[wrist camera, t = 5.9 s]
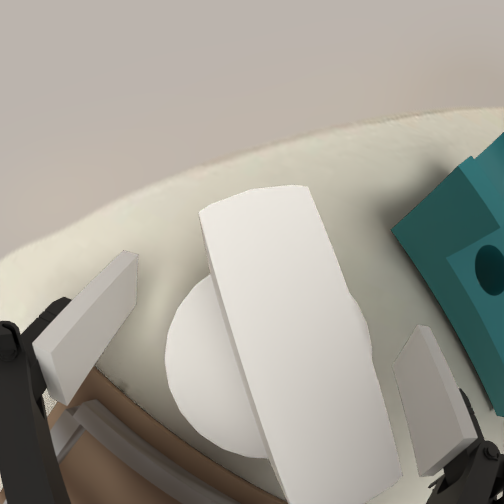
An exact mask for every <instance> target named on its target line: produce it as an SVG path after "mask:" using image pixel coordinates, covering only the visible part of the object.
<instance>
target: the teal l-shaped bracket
mask: <svg viewBox="0 0 504 504" xmlns="http://www.w3.org/2000/svg"><path fill="white" fill-rule="evenodd" d="M391 231H392V232H393V234H394V235H395V236H396V238H397V239H398V241H399V242H400V243H401V245H402V246H403V248H404V249H405V251H406V252H407V254H408V255H409V257H410V258H411V260H412V261H413V263H414V264H415V266H416V267H417V269H418V270H419V272H420V273H421V275H422V276H423V278H424V279H425V281H426V282H427V284H428V286H429V287H430V289H431V290H432V292H433V294H434V295H435V297H436V299H437V300H438V302H439V304H440V305H441V307H442V309H443V310H444V312H445V314H446V315H447V317H448V319H449V321H450V322H451V324H452V326H453V328H454V329H455V331H456V333H457V335H458V337H459V338H460V340H461V342H462V344H463V346H464V348H465V350H466V351H467V353H468V355H469V357H470V359H471V361H472V363H473V365H474V367H475V369H476V371H477V373H478V375H479V377H480V379H481V381H482V383H483V386H484V388H485V390H486V392H487V394H488V396H489V399H490V401H491V403H492V405H493V408H494V410H495V412H496V415H497V416H501V417H504V132H503V133H502V134H501V135H500V136H499V137H498V138H497V139H496V140H495V141H494V142H493V143H492V144H491V145H490V146H489V147H488V148H486V149H485V150H484V151H483V152H482V153H481V154H480V155H479V156H478V157H476V158H475V159H473V157H472V156H470V157H469V158H467V159H466V160H465V161H464V162H462V163H461V164H460V165H459V166H457V167H456V168H455V169H454V170H453V171H452V172H451V173H450V174H449V175H448V176H447V177H446V178H445V179H444V180H443V181H442V182H441V183H440V184H439V185H438V186H437V187H436V188H435V189H434V190H433V191H432V192H431V193H430V194H429V195H428V196H427V197H426V198H425V199H424V200H423V201H421V202H420V203H419V204H418V205H417V206H416V207H415V208H414V209H413V210H412V211H411V212H410V213H409V214H408V215H406V216H405V217H404V218H403V219H402V220H401V221H400V222H399V223H398V224H397V225H395V226H394V227H393V228H392V229H391ZM477 279H478V280H477ZM478 281H479V282H478Z"/></svg>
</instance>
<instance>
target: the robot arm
mask: <svg viewBox="0 0 504 504" xmlns="http://www.w3.org/2000/svg"><path fill="white" fill-rule="evenodd" d="M137 272H138V254H135V253H131V252H128V251H124V250H123V251H122V252H121V253H120V254H119V255H118V256H117V257H116V258H115V259H113V260H112V261H111V262H110V263H109V264H108V265H107V266H106V267H105V268H104V269H103V270H102V271H101V272H100V273H99V274H98V275H97V276H96V277H95V278H94V279H93V280H92V281H91V282H90V283H89V284H88V285H87V286H86V287H85V288H84V289H83V290H82V291H81V292H80V293H79V294H78V295H77V296H76V297H75V298H74V299H73V300H71V299H68V298H66V297H62V298H60V299H58V300H56V301H54V302H52V303H51V304H50V305H49V306H48V307H47V308H46V309H45V312H44V311H43V312H42V313H41V314H40V315H39V318H36V319H35V321H34V322H33V323H32V324H31V325H30V326H29V327H28V328H27V329H26V330H25V331H24V332H23V333H22V334H21V335H20V331H19V328H18V327H17V326H16V324H15V323H12V322H10V321H0V474H1V479H2V483H3V488H4V492H5V497H6V501H7V504H71V501H70V498H69V495H68V493H67V490H66V487H65V484H64V481H63V478H62V474H61V471H60V468H59V464H58V461H57V457H56V454H55V450H54V446H53V442H52V438H51V434H50V430H49V425H48V420H47V416H46V411H45V405H44V400H43V397H42V394H43V392H44V391H45V390H46V388H47V390H48V393H49V395H50V397H51V398H53V399H54V400H56V401H58V402H60V403H62V404H64V405H66V406H68V404H69V403H70V401H71V400H72V398H73V397H74V395H75V393H76V392H77V390H78V389H79V387H80V386H81V384H82V383H83V381H84V380H85V378H86V377H87V375H88V374H89V372H90V371H91V369H92V368H93V366H94V365H95V363H96V362H97V360H98V359H99V357H100V356H101V354H102V353H103V351H104V350H105V348H106V347H107V345H108V344H109V342H110V341H111V340H112V338H113V337H114V335H115V334H116V332H117V331H118V329H119V328H120V327H121V325H122V324H123V322H124V321H125V320H126V318H127V317H128V315H129V314H130V313H131V311H132V310H133V308H134V307H135V306H136V300H137ZM392 368H393V371H394V375H395V378H396V381H397V385H398V389H399V392H400V396H401V400H402V403H403V407H404V411H405V415H406V419H407V423H408V427H409V431H410V435H411V440H412V444H413V449H414V453H415V458H416V463H417V468H418V473H419V477H422V476H433V475H435V474H436V473H437V472H439V471H440V470H441V469H442V468H443V469H444V473H445V474H443V475H442V476H441V477H440V478H438V479H437V480H436V481H434V482H433V483H431V484H430V485H429V487H428V488H431V487H433V486H434V485H436V486H435V488H434V489H433V492H432V494H431V495H430V497H429V499H428V501H427V503H426V504H504V454H500V451H499V449H498V448H497V446H496V445H495V444H494V443H493V442H490V441H485V440H484V437H483V435H482V432H481V429H480V427H479V424H478V422H477V419H476V416H475V415H474V411H473V409H472V408H471V404H470V402H469V399H468V397H467V396H466V395H465V393H464V392H463V391H462V389H460V388H458V386H457V384H456V381H455V379H454V377H453V375H452V372H451V370H450V368H449V366H448V364H447V361H446V359H445V357H444V355H443V353H442V351H441V349H440V347H439V345H438V343H437V341H436V339H435V337H434V335H433V333H432V331H431V329H430V327H428V326H423V325H419V324H417V326H416V327H415V329H414V331H413V332H412V334H411V336H410V337H409V339H408V341H407V342H406V344H405V346H404V347H403V349H402V350H401V352H400V354H399V355H398V357H397V358H396V360H395V361H394V363H393V364H392ZM502 491H503V497H501V498H500V499H498V500H497V495H498V494H499V493H500V492H502Z"/></svg>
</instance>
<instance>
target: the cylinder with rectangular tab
mask: <svg viewBox="0 0 504 504" xmlns="http://www.w3.org/2000/svg"><path fill="white" fill-rule="evenodd" d="M198 213H199V218H200V223H201V229H202V234H203V239H204V245H205V250H206V255H207V260H208V265H209V270H210V274H209V275H208V276H207V277H205V278H204V279H203V280H201V281H200V282H199V283H197V284H196V285H195V286H194V287H193V289H192V290H191V291H190V292H189V294H188V295H187V296H186V298H185V299H184V300H183V301H182V303H181V304H180V305H179V307H178V309H177V311H176V314H175V316H174V318H173V321H172V323H171V326H170V328H169V331H168V335H167V343H166V351H165V366H166V373H167V379H168V385H169V388H170V391H171V393H172V395H173V397H174V399H175V402H176V404H177V406H178V408H179V410H180V412H181V413H182V415H183V416H184V417H185V418H186V419H187V420H188V422H189V423H190V424H191V425H192V426H193V427H194V428H195V430H196V431H197V432H198V433H199V434H201V435H202V436H203V437H205V438H206V439H208V440H209V441H211V442H213V443H214V444H216V445H217V446H219V447H220V448H222V449H224V450H227V451H230V452H233V453H236V454H240V455H243V456H246V457H251V458H268V459H269V461H270V464H271V466H272V468H273V471H274V473H275V475H276V477H277V480H278V482H279V484H280V486H281V489H282V491H283V493H284V495H285V498H286V500H287V502H288V504H364V503H366V502H368V501H370V500H371V499H373V498H374V497H376V496H378V495H379V494H381V493H382V492H384V491H386V490H387V489H389V488H390V487H392V486H393V485H394V484H395V483H396V482H397V481H398V480H399V479H400V478H401V477H402V476H403V474H402V470H401V465H400V461H399V457H398V453H397V448H396V444H395V440H394V436H393V432H392V429H391V425H390V421H389V417H388V413H387V410H386V406H385V403H384V399H383V395H382V392H381V389H380V385H379V382H378V378H377V375H376V372H375V368H374V365H373V362H372V344H371V339H370V334H369V329H368V324H367V322H366V320H365V318H364V316H363V314H362V312H361V310H360V308H359V306H358V304H357V302H356V300H355V299H354V298H353V297H352V296H351V294H350V293H349V290H348V287H347V285H346V282H345V279H344V276H343V274H342V271H341V268H340V266H339V263H338V260H337V258H336V255H335V253H334V250H333V247H332V245H331V242H330V240H329V237H328V235H327V232H326V230H325V227H324V225H323V222H322V220H321V217H320V215H319V212H318V210H317V208H316V205H315V203H314V200H313V198H312V196H311V193H310V191H309V189H308V187H307V186H300V185H286V186H275V187H265V188H256V189H250V190H247V191H245V192H242V193H239V194H236V195H233V196H231V197H228V198H225V199H223V200H220V201H217V202H215V203H212V204H210V205H208V206H207V207H205V208H204V209H202V210H201V211H199V212H198Z"/></svg>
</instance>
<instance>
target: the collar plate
mask: <svg viewBox="0 0 504 504" xmlns="http://www.w3.org/2000/svg"><path fill="white" fill-rule="evenodd" d="M47 420H48V425H49V430H50V434H51V438H52V442H53V446H54V450H55V454H56V457H57V461H58V464H59V468H60V471H61V474H62V478H63V481H64V484H65V487H66V490H67V493H68V495H69V498H70V501H71V504H288V503H287V502H285V501H283V500H281V499H279V498H277V497H275V496H273V495H271V494H269V493H267V492H266V491H264V490H262V489H260V488H258V487H256V486H254V485H253V484H251V483H249V482H247V481H246V480H244V479H242V478H240V477H239V476H237V475H235V474H234V473H232V472H230V471H229V470H227V469H225V468H224V467H222V466H220V465H219V464H217V463H216V462H214V461H213V460H211V459H209V458H208V457H206V456H205V455H203V454H202V453H200V452H199V451H197V450H196V449H195V448H193V447H192V446H190V445H189V444H187V443H186V442H184V441H183V440H182V439H180V438H179V437H178V436H176V435H175V434H173V433H172V432H171V431H169V430H168V429H167V428H165V427H164V426H163V425H161V424H160V423H159V422H158V421H156V420H155V419H154V418H153V417H151V416H150V415H149V414H148V413H146V412H145V411H144V410H143V409H141V408H140V407H139V406H138V405H137V404H135V403H134V402H133V401H132V400H131V399H129V398H128V397H127V396H126V395H125V394H124V393H123V392H121V391H120V390H119V389H118V388H117V387H116V386H115V385H114V384H113V383H111V382H110V381H109V380H108V379H107V378H106V377H105V376H104V375H103V374H102V373H101V372H100V371H99V370H98V369H97V368H96V367H94V366H93V368H92V369H91V371H90V372H89V374H88V375H87V377H86V378H85V380H84V381H83V383H82V384H81V386H80V387H79V389H78V390H77V392H76V393H75V395H74V397H73V398H72V400H71V401H70V403H69V404H68V406H66V405H64V404H62V403H60V402H57V404H56V405H55V407H54V408H53V410H52V411H51V413H50V414H49V416H48V417H47ZM0 504H7V501H6V497H5V492H4V488H3V489H2V490H1V492H0Z"/></svg>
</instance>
